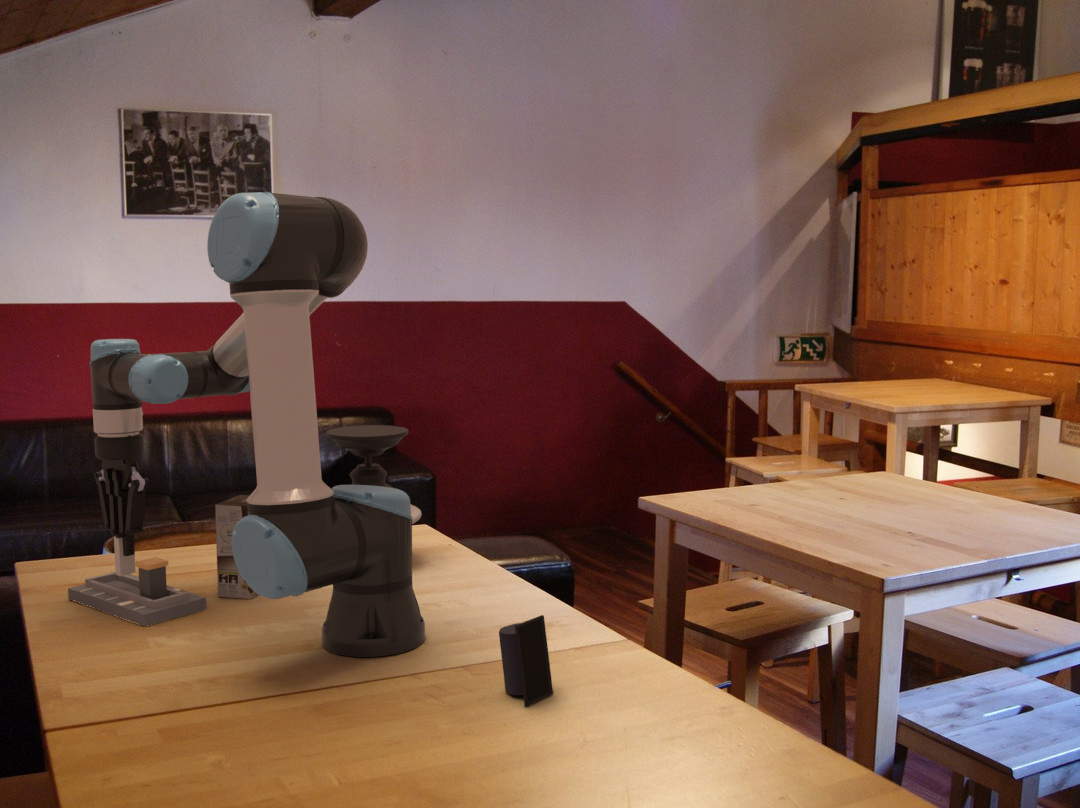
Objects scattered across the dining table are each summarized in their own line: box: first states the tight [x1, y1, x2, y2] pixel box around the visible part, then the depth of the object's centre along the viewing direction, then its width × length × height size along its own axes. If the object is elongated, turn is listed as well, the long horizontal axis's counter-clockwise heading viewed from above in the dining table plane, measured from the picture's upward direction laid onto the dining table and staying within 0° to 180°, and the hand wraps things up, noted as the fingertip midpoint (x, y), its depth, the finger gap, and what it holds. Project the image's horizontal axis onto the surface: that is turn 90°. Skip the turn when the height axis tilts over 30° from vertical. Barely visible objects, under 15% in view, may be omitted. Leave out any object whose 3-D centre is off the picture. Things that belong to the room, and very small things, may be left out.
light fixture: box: [326, 424, 423, 525], centre depth 196 cm, size 20×20×25 cm
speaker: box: [498, 614, 554, 708], centre depth 135 cm, size 8×6×10 cm
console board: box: [67, 571, 208, 627], centre depth 172 cm, size 23×11×3 cm, turn 52°
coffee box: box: [214, 494, 259, 600], centre depth 179 cm, size 9×6×16 cm
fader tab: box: [135, 556, 169, 599], centre depth 169 cm, size 4×4×6 cm
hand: (125, 573), depth 174 cm, fingers closed
